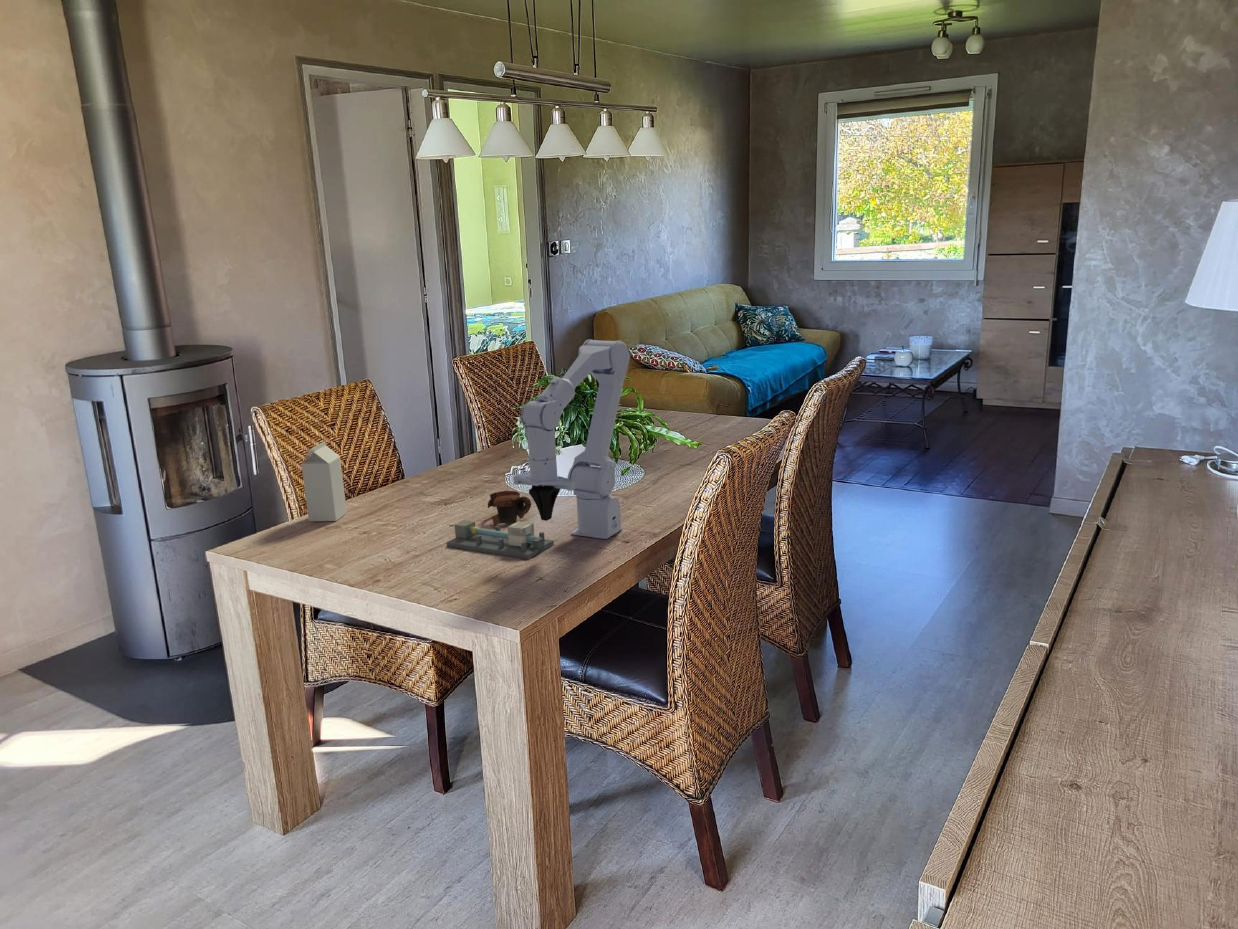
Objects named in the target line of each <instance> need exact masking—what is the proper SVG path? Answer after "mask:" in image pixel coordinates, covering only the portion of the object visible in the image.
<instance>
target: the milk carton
mask: <svg viewBox="0 0 1238 929" xmlns="http://www.w3.org/2000/svg"><path fill="white" fill-rule="evenodd" d="M306 456H307V458H305V460H304V461H303V462H302V463H301V472H302V479H303V488H304V493H305V494H304V495H305V501H306V502H305V503H306V511H307V515H308V516H307V518H308V522H337V521H338V520H339V519H342V517H343V516H345V515H346V514H347V512H348V511H347V502H346V495H345V487H344V479H343V478H344V477H343V470H342V462H341V456H340V455H339V454H337V453H336V452H335V451H334V450H332V449H331V448H330V447H328V446H327V445H326V441H325V440H323V441H322V442H321V443H318V444H317V445H315V446H313V447H312V448H310V450H309V451H308V452H306Z"/></svg>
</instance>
